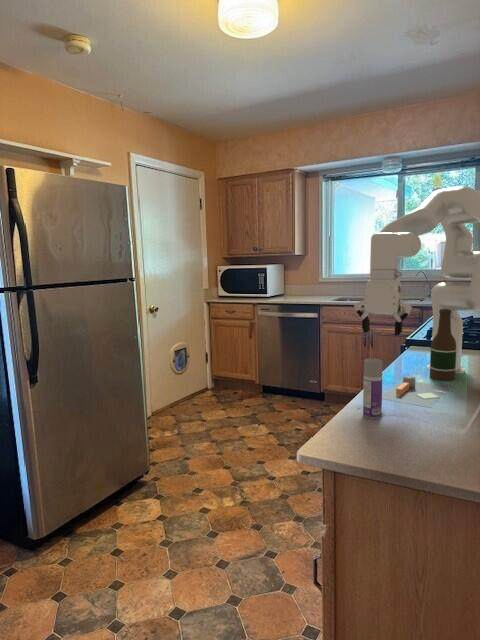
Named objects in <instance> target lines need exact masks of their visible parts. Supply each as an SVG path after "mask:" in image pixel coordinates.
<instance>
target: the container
mask: <svg viewBox="0 0 480 640" xmlns="http://www.w3.org/2000/svg"><path fill="white" fill-rule="evenodd" d="M363 364H364V365H363V381H362V382H363V385H362V386H363V387H362V389H363V391H362V393H363V394H362V395H363V398H362V404H363V405H362V416H363V417H365V418H367V419H371V420H372V419H373V420H377V419H380V418H382V403H383V402H382V401H383V399H382V395H383V360H382V359H379V358H373V357H371V358H365V359H364V362H363Z"/></svg>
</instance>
